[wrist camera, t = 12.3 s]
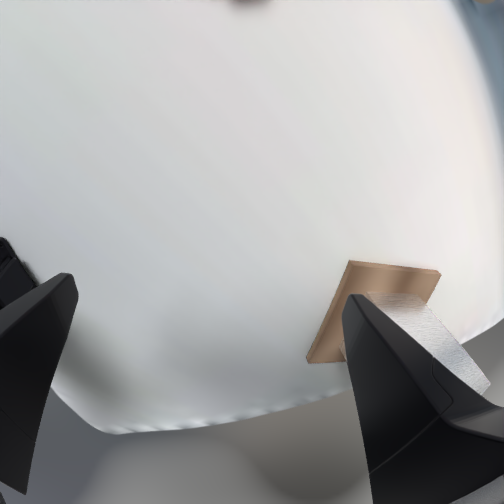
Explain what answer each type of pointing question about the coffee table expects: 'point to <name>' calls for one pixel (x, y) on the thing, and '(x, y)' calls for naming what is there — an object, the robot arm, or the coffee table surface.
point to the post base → (361, 281)
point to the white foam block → (428, 335)
